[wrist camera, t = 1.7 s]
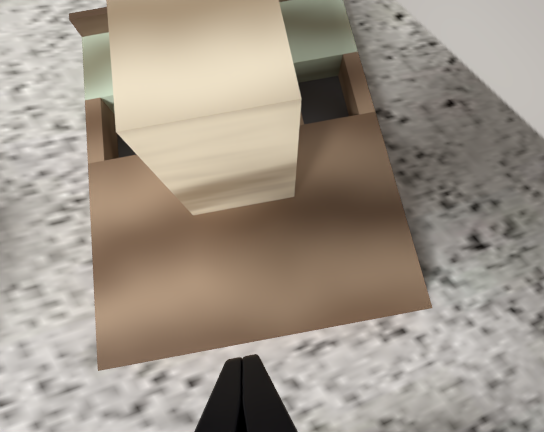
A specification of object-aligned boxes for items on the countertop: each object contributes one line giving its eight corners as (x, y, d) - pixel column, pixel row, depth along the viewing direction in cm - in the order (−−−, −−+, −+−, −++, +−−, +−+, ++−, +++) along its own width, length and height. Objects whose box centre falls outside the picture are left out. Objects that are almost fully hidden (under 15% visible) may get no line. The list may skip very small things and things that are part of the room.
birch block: (294, 196, 21) (301, 98, 12) (193, 215, 21) (115, 131, 12) (275, 107, 23) (268, -44, 13) (181, 124, 23) (105, -15, 13)
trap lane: (416, 308, 22) (444, 307, 18) (118, 364, 22) (82, 375, 18) (334, 14, 28) (341, -35, 24) (99, 56, 27) (69, 13, 24)
